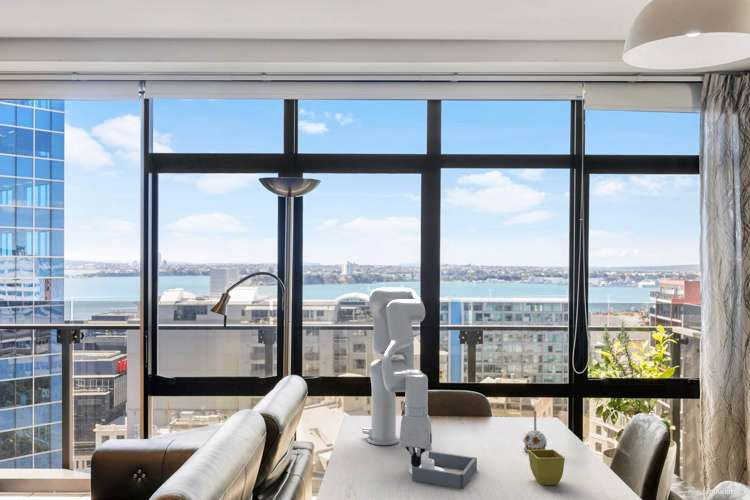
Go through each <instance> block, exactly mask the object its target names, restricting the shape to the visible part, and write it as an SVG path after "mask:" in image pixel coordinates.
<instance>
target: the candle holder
mask: <svg viewBox="0 0 750 500" xmlns="http://www.w3.org/2000/svg"><path fill="white" fill-rule="evenodd" d="M419 467H420V468H426V469H433V470H440V471H446V470H445V469H444V468H442V467H441V466H438V465H434V460H433V459H429V458H421V465H420V466H419ZM408 472H409V473H410V474H411V475H412V467H411V468H409V470H408Z"/></svg>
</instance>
